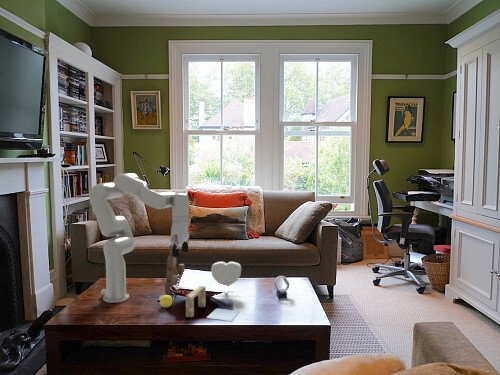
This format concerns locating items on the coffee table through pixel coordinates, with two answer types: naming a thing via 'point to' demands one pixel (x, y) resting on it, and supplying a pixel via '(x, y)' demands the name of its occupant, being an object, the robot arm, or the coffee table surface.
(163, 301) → the ball
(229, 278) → the heart sculpture
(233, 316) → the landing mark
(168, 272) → the wooden toy
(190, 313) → the bridge
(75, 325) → the coffee table surface
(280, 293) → the watch
